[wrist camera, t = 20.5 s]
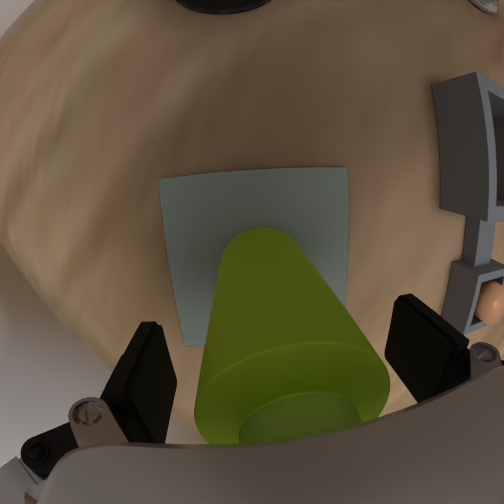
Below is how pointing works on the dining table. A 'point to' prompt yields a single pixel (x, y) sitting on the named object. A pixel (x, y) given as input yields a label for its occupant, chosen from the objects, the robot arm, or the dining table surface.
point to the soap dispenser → (281, 349)
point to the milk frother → (221, 5)
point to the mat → (245, 217)
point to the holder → (471, 185)
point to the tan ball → (490, 302)
